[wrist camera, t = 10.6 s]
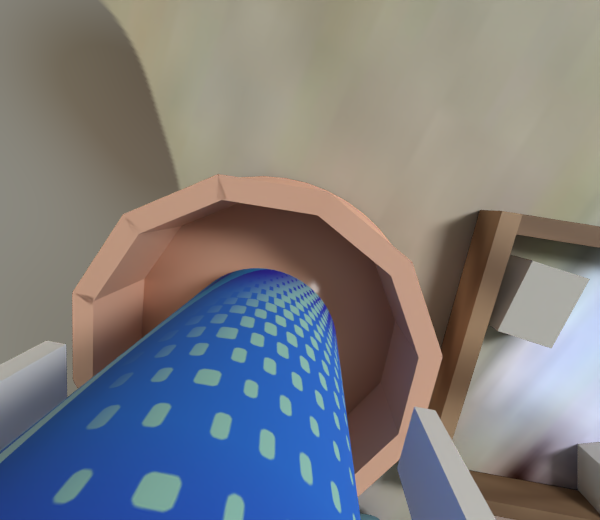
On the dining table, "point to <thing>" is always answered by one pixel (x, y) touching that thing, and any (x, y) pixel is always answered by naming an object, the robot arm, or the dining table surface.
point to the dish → (282, 257)
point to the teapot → (367, 517)
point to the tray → (467, 343)
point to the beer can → (200, 419)
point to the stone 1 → (535, 300)
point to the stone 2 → (589, 472)
